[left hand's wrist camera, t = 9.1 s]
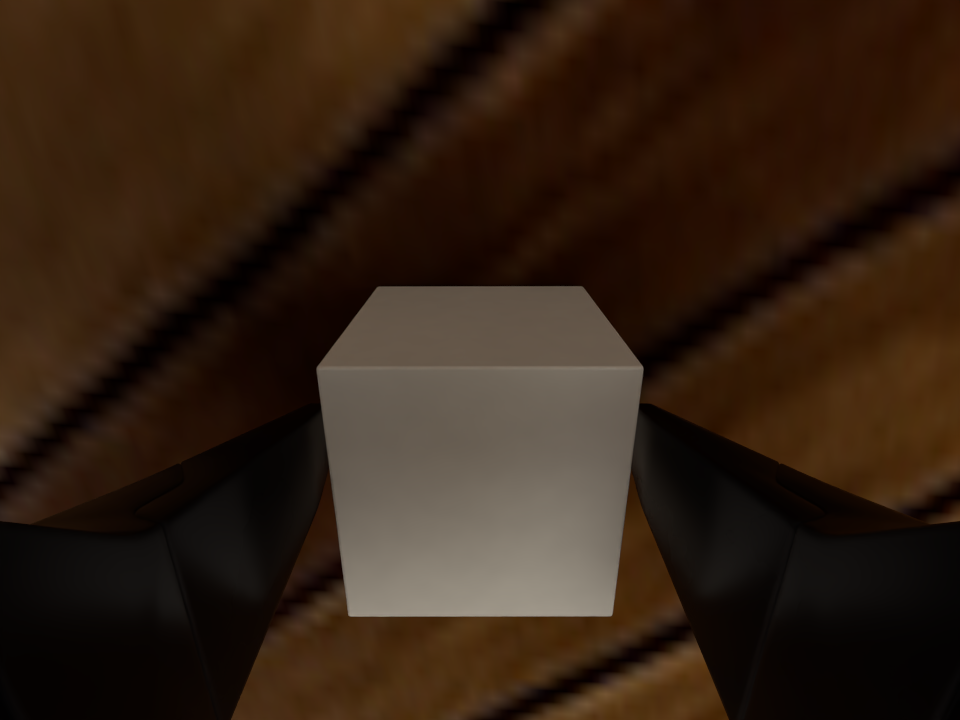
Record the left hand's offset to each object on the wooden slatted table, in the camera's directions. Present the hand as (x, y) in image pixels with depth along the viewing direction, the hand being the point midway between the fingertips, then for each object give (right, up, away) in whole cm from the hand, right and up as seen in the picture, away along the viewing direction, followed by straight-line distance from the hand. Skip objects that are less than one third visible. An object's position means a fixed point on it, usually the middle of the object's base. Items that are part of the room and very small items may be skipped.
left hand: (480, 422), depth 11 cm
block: (0, +1, +2) cm, 2 cm away
